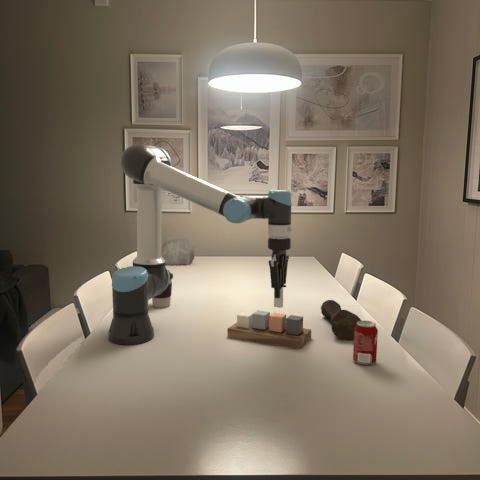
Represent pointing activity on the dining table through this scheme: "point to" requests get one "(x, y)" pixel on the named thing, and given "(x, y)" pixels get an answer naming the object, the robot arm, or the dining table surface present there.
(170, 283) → the coffee cup
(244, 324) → the key ivory
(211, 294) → the dining table surface
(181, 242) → the decorative stone
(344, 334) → the dark brown bone
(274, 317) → the key terracotta
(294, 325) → the dark gray block
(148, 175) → the robot arm
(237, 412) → the dining table surface
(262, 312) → the light grey block
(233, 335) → the wooden block tray
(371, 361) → the soda can
